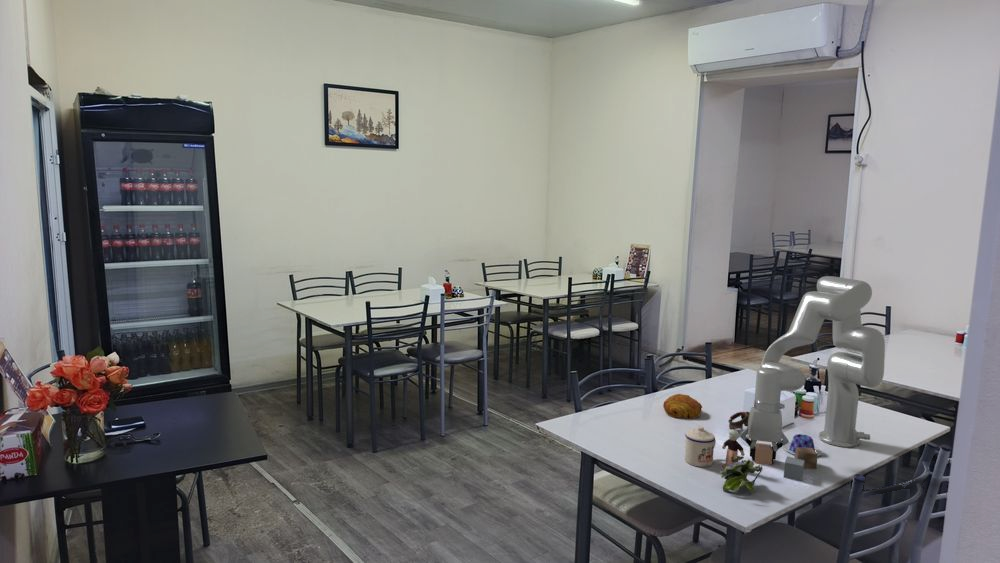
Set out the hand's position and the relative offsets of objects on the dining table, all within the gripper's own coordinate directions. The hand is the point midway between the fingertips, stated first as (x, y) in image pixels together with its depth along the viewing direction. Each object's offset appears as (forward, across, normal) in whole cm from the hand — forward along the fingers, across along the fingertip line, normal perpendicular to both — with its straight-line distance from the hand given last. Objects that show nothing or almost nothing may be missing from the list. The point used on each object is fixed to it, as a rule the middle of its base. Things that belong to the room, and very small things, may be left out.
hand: (762, 459), depth 207 cm
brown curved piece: (+1, +3, -26) cm, 26 cm away
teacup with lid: (+1, +19, +6) cm, 20 cm away
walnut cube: (+1, -13, -1) cm, 13 cm away
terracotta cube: (+1, 0, 0) cm, 1 cm away
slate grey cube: (+1, -8, +9) cm, 12 cm away
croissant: (+1, +25, -38) cm, 46 cm away
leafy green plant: (+1, +8, +23) cm, 24 cm away
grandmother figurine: (+1, +10, +9) cm, 13 cm away
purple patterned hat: (+1, -14, -13) cm, 19 cm away
